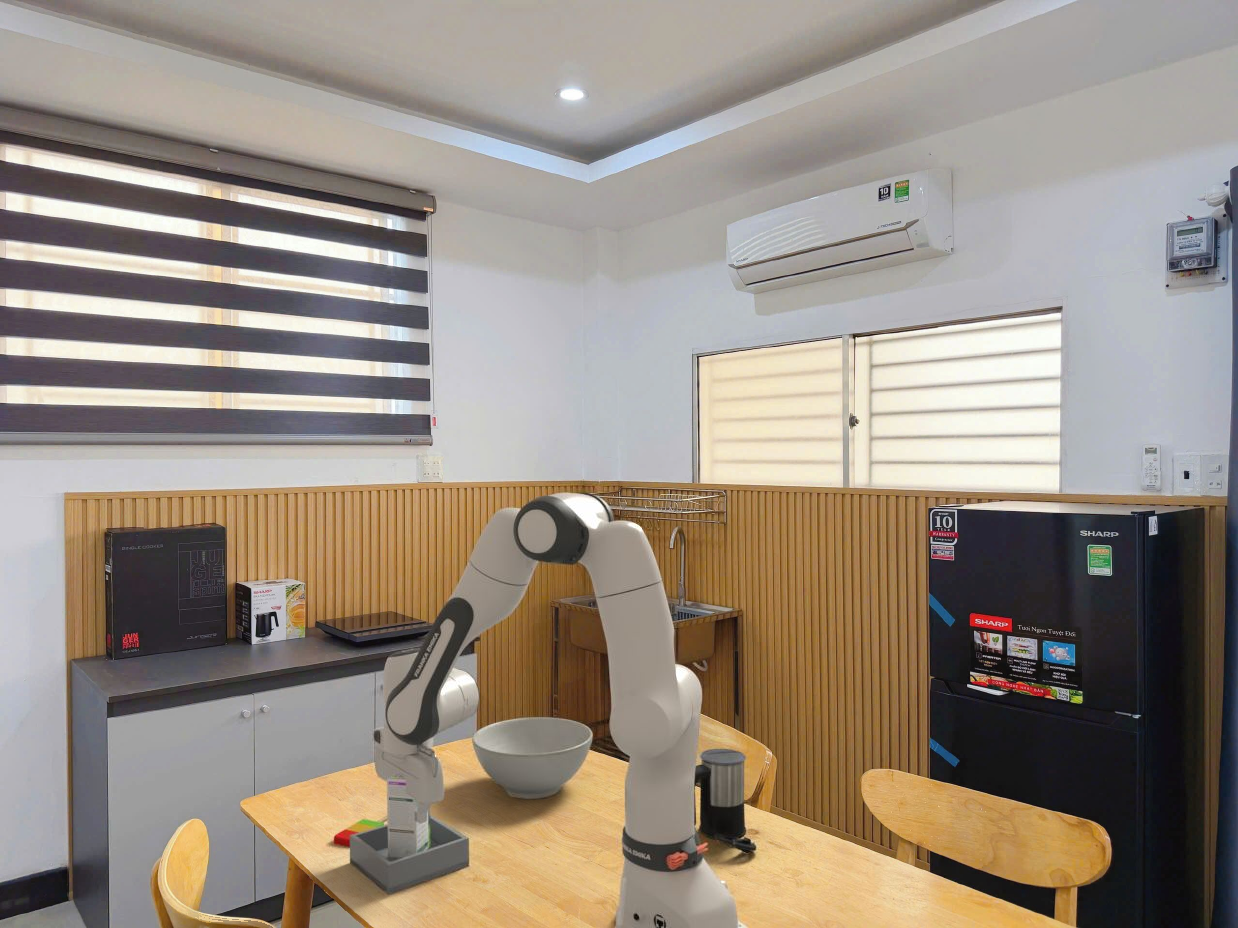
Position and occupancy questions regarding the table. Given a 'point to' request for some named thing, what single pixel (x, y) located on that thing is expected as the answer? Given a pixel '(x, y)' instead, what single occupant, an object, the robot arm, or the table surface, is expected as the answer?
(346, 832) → the popsicle
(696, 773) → the milk frother
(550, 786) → the decorative bowl
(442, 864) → the bin
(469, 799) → the table surface
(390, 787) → the syrup box
